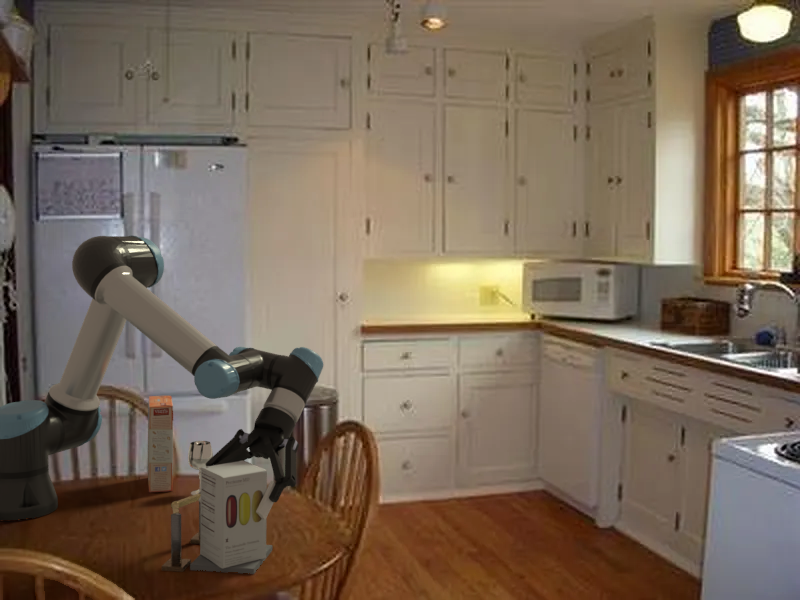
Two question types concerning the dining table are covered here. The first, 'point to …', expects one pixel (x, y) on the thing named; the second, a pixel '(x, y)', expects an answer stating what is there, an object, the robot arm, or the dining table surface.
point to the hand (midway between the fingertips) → (231, 510)
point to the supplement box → (232, 513)
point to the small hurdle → (175, 561)
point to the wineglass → (199, 457)
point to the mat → (248, 567)
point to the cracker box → (160, 444)
